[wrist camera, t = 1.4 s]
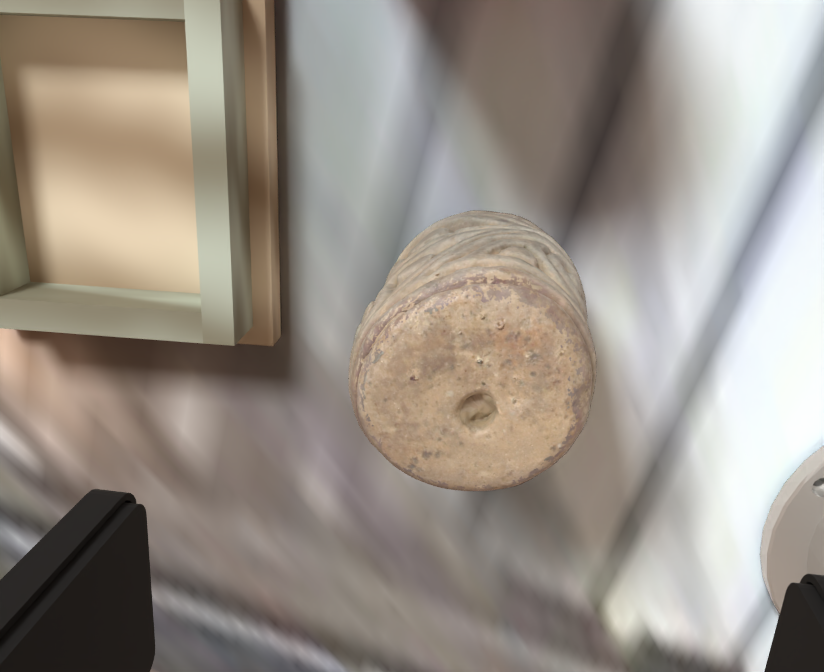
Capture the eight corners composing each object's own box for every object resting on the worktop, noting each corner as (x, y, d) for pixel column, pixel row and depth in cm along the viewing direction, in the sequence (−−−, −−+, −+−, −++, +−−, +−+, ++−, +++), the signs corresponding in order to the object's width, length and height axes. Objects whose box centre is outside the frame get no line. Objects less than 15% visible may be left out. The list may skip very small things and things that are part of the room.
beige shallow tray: (281, 336, 32) (256, 367, 29) (8, 316, 33) (-46, 343, 30) (273, -35, 27) (243, -48, 24) (-45, -44, 28) (-116, -59, 25)
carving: (604, 273, 30) (671, 401, 18) (462, 392, 32) (444, 570, 21) (494, 152, 29) (492, 209, 17) (355, 284, 31) (273, 411, 20)
